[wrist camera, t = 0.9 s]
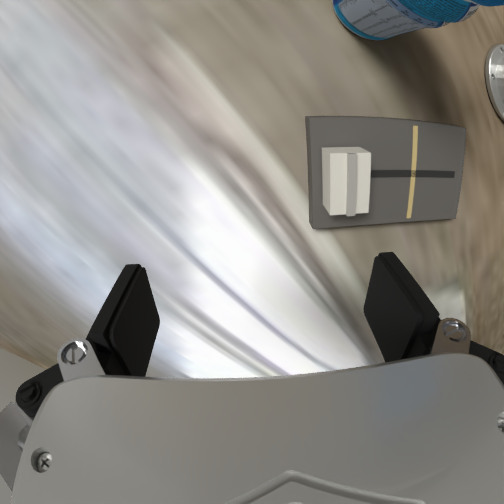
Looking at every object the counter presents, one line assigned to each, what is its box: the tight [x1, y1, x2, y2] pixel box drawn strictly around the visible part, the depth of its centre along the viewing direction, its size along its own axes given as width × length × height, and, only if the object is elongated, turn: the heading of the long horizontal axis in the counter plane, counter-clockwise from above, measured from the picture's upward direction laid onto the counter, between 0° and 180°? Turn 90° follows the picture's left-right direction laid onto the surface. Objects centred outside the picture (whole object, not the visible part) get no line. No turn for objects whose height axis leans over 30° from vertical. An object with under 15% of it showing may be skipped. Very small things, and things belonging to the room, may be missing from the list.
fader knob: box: [322, 147, 371, 216], centre depth 26 cm, size 4×6×4 cm, turn 5°
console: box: [305, 116, 466, 229], centre depth 29 cm, size 20×12×2 cm, turn 96°
